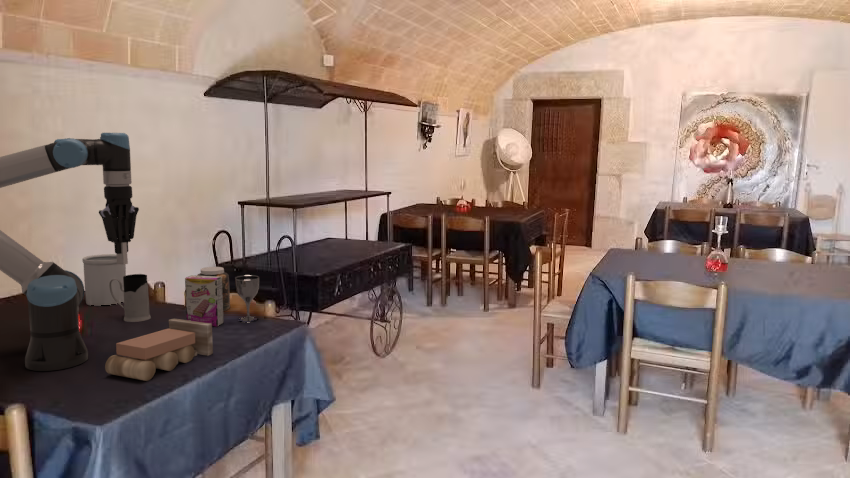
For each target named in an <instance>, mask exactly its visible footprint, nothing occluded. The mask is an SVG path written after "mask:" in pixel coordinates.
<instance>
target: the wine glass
mask: <svg viewBox="0 0 850 478" xmlns="http://www.w3.org/2000/svg"><path fill="white" fill-rule="evenodd" d="M234 279H235V290H236V293H237V295H238V296H239V297H240V299H242V300H243V301H244V303H245V306H246V307H245V308H246V316H244V318H243V317H240V318H241V320H243V321H251V320H253V319H254V317H255V316H251V315H250V308H251V307H250V306H251V302H252V301H253V299H254V298H255V297H256V296H257V294H258V292H259V289H260V276H258V275H254V274H251V275H250V274H245V275H237V276H235V277H234Z"/></svg>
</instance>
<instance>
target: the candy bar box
mask: <svg viewBox="0 0 850 478" xmlns="http://www.w3.org/2000/svg"><path fill="white" fill-rule="evenodd" d="M197 275H198V274H196V275H189V276H186V277H185V278H184V285H185V287H184V288H185V289H184V290H185V313H186V316H185V317H186V320H189V321H196V322H203V323H210V324H212V327H220V326H221V325H222V324H223V323H224V311H223V291H222V277H218V276H197ZM219 325H220V326H219Z"/></svg>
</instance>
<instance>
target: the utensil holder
mask: <svg viewBox="0 0 850 478" xmlns="http://www.w3.org/2000/svg"><path fill="white" fill-rule="evenodd" d="M81 261H82V263H83V279H84V296H85V303H86V305H88V306H91V305H94V306H93V307H102V306H101V305H110V306H112V305H111V304H116V305H118V304H117V302H116V301H115V300H114V299H113V297H112V295H111V292H110V287H109V283H110V281H111V280H112V279H118V280H120V282H121V284H122V289H123V290H124V283H123V277H124V276H126V274H127V273H126V269H127V268H126V267H127V266H126V265H127V264H124V265H123V264H117V255H116V253H113V254H111V253H107V254H94V255H93V254H92V255H88V256H83V257H82V260H81ZM111 288H112V292H113V294H114V296H115V298H116V299H117V301H118V302H119V303H121V302H123V303H124V292H123V291H121V289H120V284H119V282H118V281H117V280H113V281H112V282H111ZM121 304H122V303H121Z"/></svg>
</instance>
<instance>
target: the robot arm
mask: <svg viewBox="0 0 850 478" xmlns="http://www.w3.org/2000/svg"><path fill="white" fill-rule="evenodd" d="M130 147H131V146H130V138H129V135H128V134H127V133H125V132H102V133H100V137H99V138H98V139H97V138H96V139H90V138H89V139H85V138H73V137H72V138H70V137H69V138H57V139H55V140H54V142H52V143H49V144H44V145H40V146H37V147H33V148H32V147H31V148H29V149H25V150H22V151H17V152H15V153H14V152H13V153H11V154H7V155H3V156H0V189H1V188H5V187H8V186H9V187H10V186H12V185H15V184H19V183H23V182H26V181H29V180H33V179H36V178H39V177H43V176H47V175H51V174H54V173H57V172H63V171H67V170H70V169H73V168H77V167H80V166H102V180H103V185H104V187H103V194H104V199H105V200H106V202H105V208H103V209H102V210H101V209H100V210H98V214H99V216H100V218H101V220H102V224H103V228H104V230H105V234H106V237H107V238H106V239H107V242H111V243H113V244H114V245H113V246H114V254H116V255H117V264H123V265H124V264H126V265H128V264H129V261H128V260H129V259H128V253H129V243H130V242H131V241H132V240H133V239H134V237H135V230H136V229H135V228H136V221H137V215H138V213H139V211H140V209H139V207H138V206H134V205H133V202H132V200H131V199H132V198H133V187H132V186H131V185H132V169H131V167H132V165H131V164H132V163H131V162H132V161H131V148H130ZM0 272H2V273H3V274H5V275H6V276H8V277H9V278H10V279H12V280H13V281H15V283H18V284H19V285H20V287H21V293H22V294H23V295H25V296H26V298H27V306H28V307H27V308H28V320H29V333H30V334H29V335H30V340H29V344H28V347H27V350H26V353H25V357H24V364H25V365H24V366H25V368H26V369H27V370H30V371H35V372H51V371H58V370H60V371H61V370H64V369H69V368H73V367H76V366H80V365H81V364H83V363H85V362H86V361H87V360H88V359H89V351H88V348H87V346H86V343H85V341H84V339H83V338H82V335H81V332H80V323H79V321H80V319H79V306H80V304H81V303H82V301H83V299H84V296H85V284H84V283H83V281H82V278H80V276H78V275H77V273H75V272H72V271H70V270H66V269H64V268H63V267H61V266H59V265H58V264H57V263H55V262H54V261H43V260H42V259H40V258H39V257H38V256H37V255H36V254H34V253H32V252H31V251H29V250H28V249H27V248H25V247H24V246H22V245H21V244H20V243H19V242H17V241H16V240H14V239H13V238H12V237H11V236H9V235H8V234H6V233H5V232H3V231H2V230H1V229H0Z"/></svg>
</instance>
